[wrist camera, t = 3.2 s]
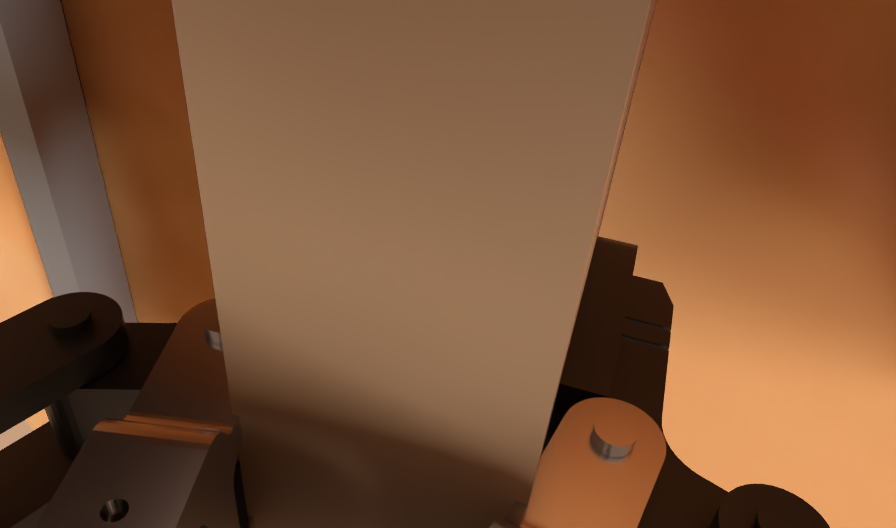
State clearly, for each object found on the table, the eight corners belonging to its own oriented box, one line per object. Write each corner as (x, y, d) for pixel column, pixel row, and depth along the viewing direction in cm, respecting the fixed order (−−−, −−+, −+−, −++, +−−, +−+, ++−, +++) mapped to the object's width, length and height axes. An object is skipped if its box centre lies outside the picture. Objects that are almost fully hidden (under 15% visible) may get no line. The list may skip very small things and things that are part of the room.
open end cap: (15, -42, 14) (-48, -19, 13) (353, 23, 13) (315, 55, 12) (118, 342, 20) (81, 381, 19) (353, 412, 19) (329, 458, 18)
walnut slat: (453, -244, 10) (144, -182, 5) (708, -214, 10) (674, -103, 4) (407, 428, 19) (277, 718, 14) (540, 467, 18) (460, 787, 13)
